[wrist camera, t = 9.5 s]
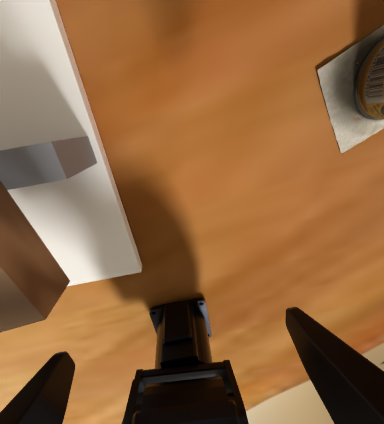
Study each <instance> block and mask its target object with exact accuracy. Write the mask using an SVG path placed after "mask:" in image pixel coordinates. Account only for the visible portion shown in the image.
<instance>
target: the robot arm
mask: <svg viewBox="0 0 384 424" xmlns="http://www.w3.org/2000/svg"><path fill="white" fill-rule="evenodd" d="M201 302H202V303H201ZM153 311H155V312H153ZM150 317H151V319H152V322H153V325H154V328H155V331H156V333H157V346H156V360H155V369H149V370H143V369H138V370H137V371H136V375H135V379H134V380H133V382H132V386H131V390H130V394H129V398H128V403H127V407H126V411H125V415H124V418H123V421H122V424H248V419H247V415H246V411H245V407H244V404H243V400H242V397H241V394H240V391H239V388H238V385H237V382H236V379H235V376H234V373H233V370H232V367H231V364H230V361H229V360H223V362H214V363H213V362H212V356H211V350H210V344H209V338H210V337H211V335H212V334H211V329H210V323H209V318H208V313H207V307H206V302H205V299H204V298H198V299H193V300H187V301H182V302H177V303H172V304H167V305H161V306H156V307H152V308H151V309H150ZM286 326H287V329H288V331H289V334H290V336H291V338H292V340H293V343H294V345H295V347H296V350H297V352H298V354H299V357H300V359H301V361H302V363H303V366H304V368H305V370H306V372H307V374H308V376H309V378H310V380H311V381H312V383H313V385H314V387H315V389H316V390H317V392H318V394H319V396H320V398H321V400H322V401H323V403H324V405H325V407H326V409H327V411H328V412H329V414H330V416H331V418H332V420H333V422H334V424H384V371H382V370H381V369H380V368H378V367H377V366H376V365H374V364H373V363H372V362H370V361H369V360H368V359H366V358H365V357H363V356H362V355H361V354H360V353H358V352H357V351H356V350H354V349H353V348H352V347H350V346H349V345H347V344H346V343H345V342H343V341H342V340H341V339H339V338H338V337H337V336H335V335H334V334H333V333H331V332H330V331H329V330H327V329H326V328H325V327H323V326H322V325H321V324H319V323H318V322H317V321H315V320H314V319H313V318H311V317H310V316H309V315H307V314H306V313H304V312H303V311H302V310H300V309H299V308H297V307H291V308H287V309H286ZM74 371H75V363H74V361H73V360H72V358H71V357H70V355H69V354H68V352H66V351H65V352H59V353H56V354H54V355H53V356H52V357H51V358H50V359H49V360H48V361H47V363H46V364H45V365H44V366H43V367H42V368H41V369H40V370H39V371H38V372H37V373H36V374H35V376H34V377H33V378H32V379H31V380H30V381H29V382H28V383H27V384H26V385H25V386H24V387H23V389H22V390H21V391H20V392H19V393H18V394H17V395H16V396H15V397H14V398H13V399H12V400H11V401H10V403H9V404H8V405H7V406H6V407H5V408H4V409H3V410H2V411H1V412H0V424H62V423H63V419H64V415H65V411H66V407H67V403H68V398H69V394H70V389H71V385H72V380H73V376H74Z"/></svg>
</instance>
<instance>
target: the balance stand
mask: <svg viewBox="0 0 384 424" xmlns="http://www.w3.org/2000/svg"><path fill="white" fill-rule="evenodd" d="M0 181H1V182H2V184H3V185H4V186H5V188H6V189H7V191H8V192H9V194H10V195H11V197H12V198H13V199H14V201H15V202H16V204H17V205H18V207H19V208H20V209H21V211H22V212H23V214H24V215H25V217H26V218H27V220H28V221H29V222H30V224H31V225H32V227H33V228H34V230H35V231H36V232H37V234H38V235H39V237H40V238H41V240H42V241H43V242H44V244H45V245H46V247H47V248H48V250H49V251H50V253H51V254H52V255H53V257H54V258H55V260H56V261H57V263H58V264H59V265H60V267H61V268H62V270H63V271H64V273H65V274H66V276H67V277H68V278H69V280H70V282H69V284H68V285H67V286H71V285H76V284H82V283H87V282H92V281H98V280H103V279H108V278H113V277H119V276H124V275H129V274H134V273H140V272H141V271H142V263H141V260H140V257H139V254H138V251H137V248H136V245H135V242H134V238H133V235H132V232H131V229H130V226H129V223H128V220H127V217H126V214H125V211H124V208H123V205H122V202H121V199H120V196H119V193H118V190H117V187H116V184H115V181H114V178H113V175H112V172H111V169H110V165H109V162H108V159H107V156H106V153H105V150H104V147H103V144H102V141H101V138H100V135H99V132H98V129H97V126H96V123H95V120H94V117H93V114H92V111H91V108H90V105H89V102H88V99H87V96H86V92H85V89H84V86H83V83H82V80H81V77H80V74H79V71H78V68H77V65H76V62H75V59H74V56H73V53H72V50H71V47H70V44H69V41H68V38H67V35H66V32H65V29H64V26H63V23H62V19H61V16H60V13H59V10H58V7H57V4H56V1H55V0H0Z"/></svg>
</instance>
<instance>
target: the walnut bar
mask: <svg viewBox="0 0 384 424" xmlns="http://www.w3.org/2000/svg"><path fill="white" fill-rule="evenodd" d="M69 282H70V280H69V278H68V277H67V276H66V274H65V273H64V271H63V270H62V268H61V267H60V265H59V264H58V263H57V261H56V260H55V258H54V257H53V255H52V254H51V253H50V251H49V250H48V248H47V247H46V245H45V244H44V242H43V241H42V240H41V238H40V237H39V235H38V234H37V232H36V231H35V230H34V228H33V227H32V225H31V224H30V222H29V221H28V220H27V218H26V217H25V215H24V214H23V212H22V211H21V209H20V208H19V207H18V205H17V204H16V202H15V201H14V199H13V198H12V197H11V195H10V194H9V192H8V191H7V189H6V188H5V186H4V185H3V184H2V182H1V181H0V332H3V331H7V330H10V329H14V328H17V327H21V326H24V325H28V324H31V323H35V322H39V321H42V320H45V319H46V318H47V316H48V315H49V313H50V312H51V310H52V309H53V307H54V306H55V304H56V302H57V301H58V299H59V298H60V296H61V295H62V293H63V292H64V290H65V289H66V287H67V285H68V284H69Z"/></svg>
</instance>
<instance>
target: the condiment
mask: <svg viewBox="0 0 384 424" xmlns="http://www.w3.org/2000/svg"><path fill="white" fill-rule="evenodd" d="M357 61H358V62H359V63H358V64H356V63H357ZM317 71H318V75H319V79H320V85H321V88H322V92H323V96H324V98H325V103H326V107H327V110H328V113H329V116H330V120H331V121H330V122H331V124H332V126H333V129H334V132H335V135H336V140H337V142H338V144H339V148H340V151H341V153H343V152H345V151H347V150H349V149H350V148H352V147H353V146H355V145H356V144H358V143H360V142H362V141H364V140H365V139H366V138H368V137H370V136H372V135H374V134H375V133H377V132H378V131H380V130H381V129H383V128H384V25H383V26H381V27H380V28H378V29H377V30H375V31H374V32H373V33H371V34H369V35H368V36H367V37H365V38H364V39H363V40H361V41H360V42H358V43H357V44H355V45H354V46H352V47H351V48H349V49H348V50H346V51H345V52H343V53H342V54H340V55H339V56H337V57H336V58H335V59H333V60H332V61H330V62H329V63H327V64H326V65H324V66H323V67H322V68H320V69H319V70H317ZM354 117H358V118H357V119H354ZM359 117H362V119H359Z"/></svg>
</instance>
